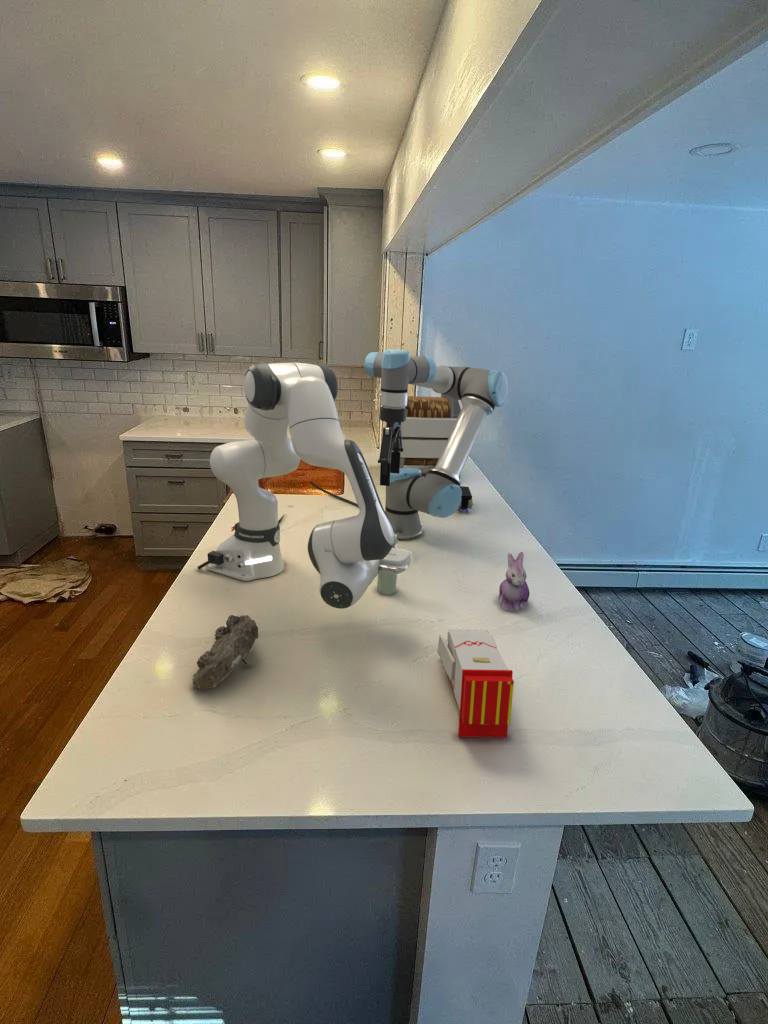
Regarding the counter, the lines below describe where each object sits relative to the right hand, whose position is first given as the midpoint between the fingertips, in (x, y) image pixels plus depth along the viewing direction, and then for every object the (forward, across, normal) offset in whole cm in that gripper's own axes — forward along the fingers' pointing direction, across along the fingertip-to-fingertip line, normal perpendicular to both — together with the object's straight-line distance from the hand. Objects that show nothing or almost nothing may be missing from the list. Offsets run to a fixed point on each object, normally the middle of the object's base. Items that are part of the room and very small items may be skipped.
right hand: (389, 479), depth 167 cm
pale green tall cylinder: (+27, +17, +4) cm, 33 cm away
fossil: (+27, +61, -21) cm, 70 cm away
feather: (+27, -26, -45) cm, 59 cm away
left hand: (+9, +29, +4) cm, 30 cm away
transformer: (+27, -106, -8) cm, 109 cm away
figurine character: (+27, -61, +17) cm, 69 cm away
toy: (+27, +56, +31) cm, 70 cm away
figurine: (+27, +15, +39) cm, 50 cm away
